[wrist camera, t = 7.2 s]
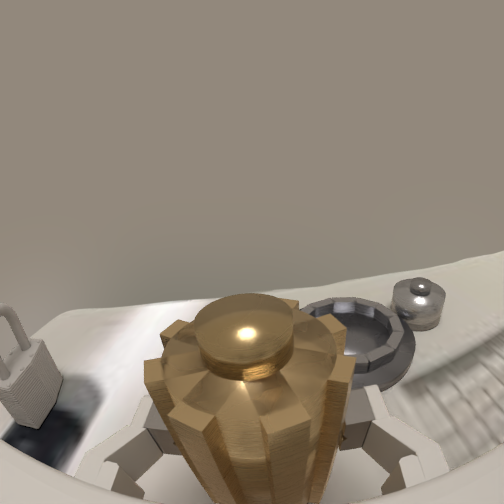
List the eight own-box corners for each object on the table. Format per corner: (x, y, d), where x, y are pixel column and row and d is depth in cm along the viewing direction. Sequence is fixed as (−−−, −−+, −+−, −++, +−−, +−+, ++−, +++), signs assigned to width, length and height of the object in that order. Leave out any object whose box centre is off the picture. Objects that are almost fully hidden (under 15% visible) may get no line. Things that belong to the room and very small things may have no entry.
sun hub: (414, 296, 30) (418, 266, 29) (449, 318, 25) (457, 285, 23) (379, 311, 29) (383, 278, 27) (416, 337, 23) (424, 302, 22)
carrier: (359, 299, 32) (361, 280, 31) (438, 356, 20) (446, 335, 19) (256, 329, 28) (254, 309, 28) (316, 423, 17) (318, 402, 16)
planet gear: (297, 427, 13) (296, 258, 10) (345, 501, 8) (409, 341, 5) (200, 455, 12) (137, 292, 9) (228, 541, 7) (128, 431, 4)
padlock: (44, 432, 14) (-21, 331, 11) (14, 424, 14) (-46, 329, 11) (68, 379, 21) (26, 286, 18) (40, 376, 21) (-1, 289, 17)
